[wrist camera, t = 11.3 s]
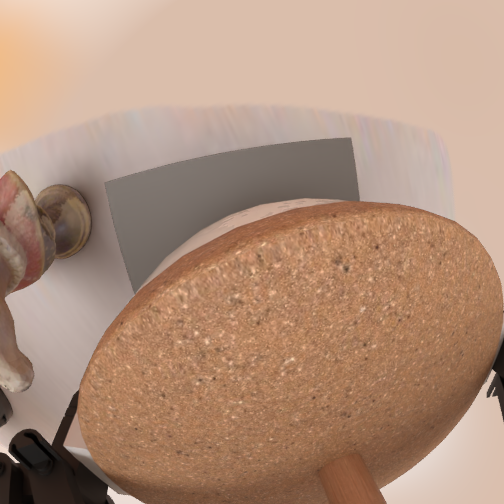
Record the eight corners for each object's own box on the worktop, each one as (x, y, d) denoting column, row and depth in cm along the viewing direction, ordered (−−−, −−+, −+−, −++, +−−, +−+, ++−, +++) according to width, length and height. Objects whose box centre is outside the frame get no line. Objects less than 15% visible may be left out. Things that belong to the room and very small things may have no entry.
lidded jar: (111, 224, 10) (-81, 365, 1) (362, 163, 11) (579, 184, 2) (193, 411, 13) (200, 565, 4) (373, 358, 14) (466, 472, 5)
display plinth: (182, 319, 26) (173, 387, 17) (145, 179, 22) (104, 182, 13) (316, 289, 28) (362, 340, 18) (298, 150, 23) (351, 137, 14)
